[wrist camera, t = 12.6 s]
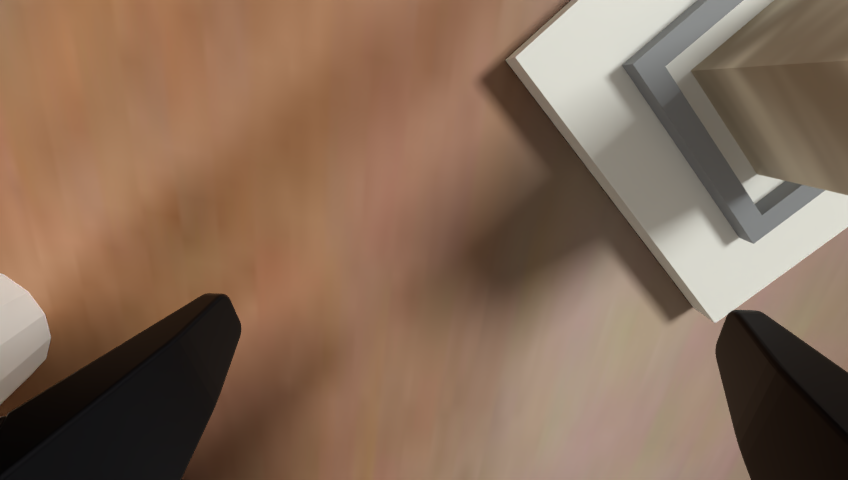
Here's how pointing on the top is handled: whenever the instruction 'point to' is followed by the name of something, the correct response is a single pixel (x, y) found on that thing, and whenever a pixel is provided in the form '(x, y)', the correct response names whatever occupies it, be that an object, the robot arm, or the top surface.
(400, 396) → the top surface
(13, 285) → the white cup
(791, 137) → the maple pillar
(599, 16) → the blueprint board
